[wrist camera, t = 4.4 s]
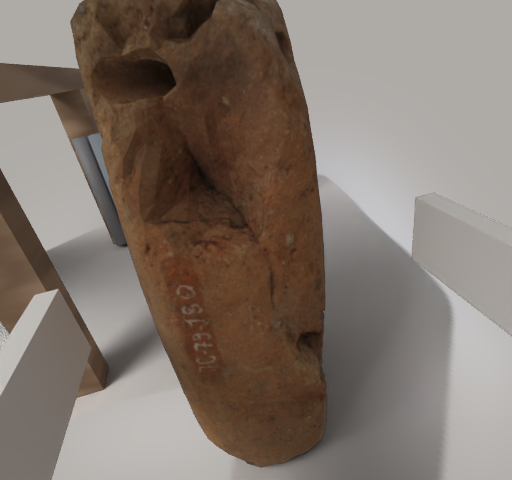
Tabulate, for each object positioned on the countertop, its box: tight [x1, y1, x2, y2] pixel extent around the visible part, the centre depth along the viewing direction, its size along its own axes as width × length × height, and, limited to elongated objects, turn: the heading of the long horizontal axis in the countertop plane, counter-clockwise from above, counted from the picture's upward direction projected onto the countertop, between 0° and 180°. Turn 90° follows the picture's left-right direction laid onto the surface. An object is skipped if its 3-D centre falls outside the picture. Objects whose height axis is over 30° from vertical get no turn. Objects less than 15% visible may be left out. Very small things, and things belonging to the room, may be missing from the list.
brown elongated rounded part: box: [70, 0, 327, 467], centre depth 16 cm, size 11×8×20 cm
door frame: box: [0, 63, 116, 397], centre depth 30 cm, size 3×28×20 cm, turn 13°
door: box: [72, 133, 127, 246], centre depth 41 cm, size 21×3×13 cm, turn 103°
